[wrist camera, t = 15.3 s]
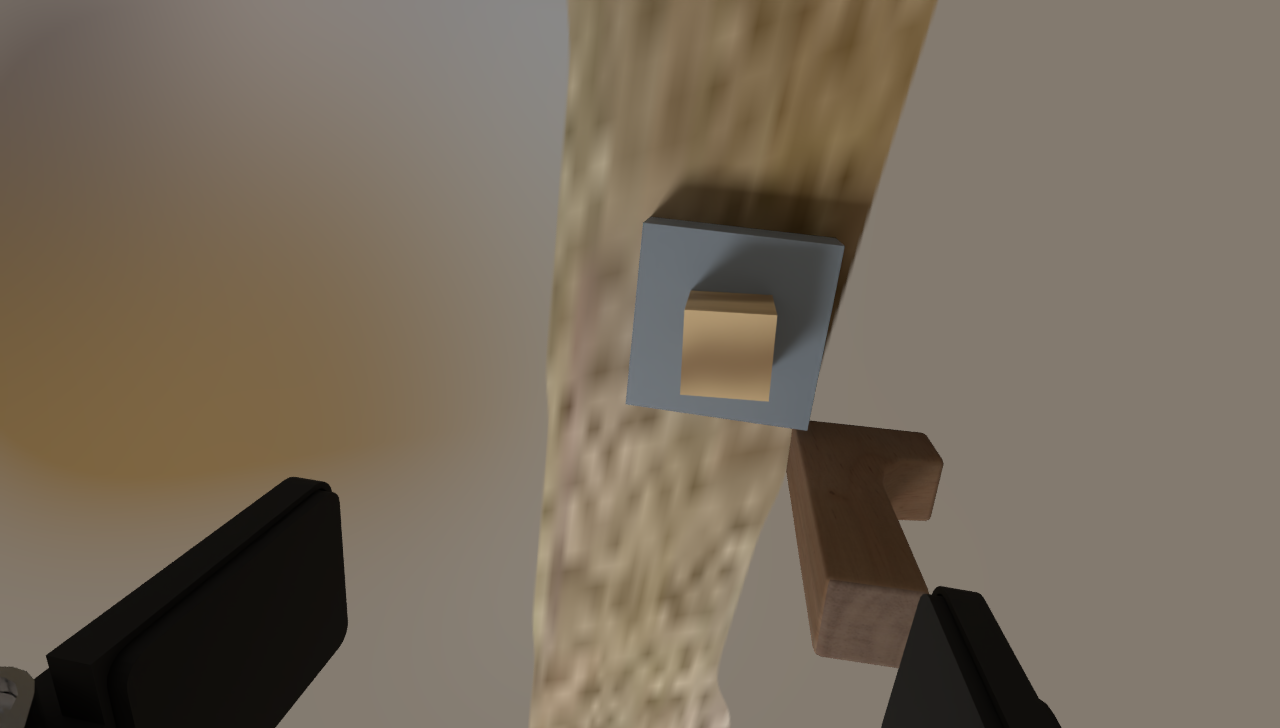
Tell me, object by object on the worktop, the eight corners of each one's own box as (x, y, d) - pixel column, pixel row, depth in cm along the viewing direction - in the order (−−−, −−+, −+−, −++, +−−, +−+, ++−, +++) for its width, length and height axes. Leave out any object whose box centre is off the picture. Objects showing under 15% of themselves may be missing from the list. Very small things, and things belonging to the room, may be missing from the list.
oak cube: (690, 290, 40) (684, 309, 35) (772, 295, 39) (777, 315, 34) (686, 366, 41) (679, 394, 37) (765, 372, 41) (768, 401, 36)
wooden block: (926, 431, 44) (1044, 607, 27) (913, 488, 45) (1017, 690, 29) (793, 416, 45) (827, 578, 28) (785, 473, 46) (812, 659, 30)
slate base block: (651, 216, 42) (643, 222, 39) (835, 237, 41) (844, 246, 37) (634, 383, 46) (625, 404, 43) (801, 407, 45) (807, 430, 41)
